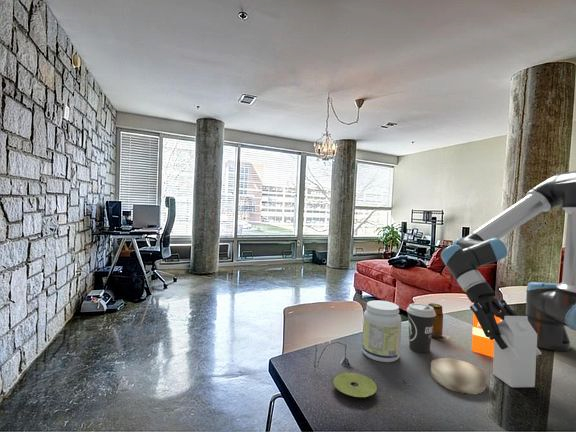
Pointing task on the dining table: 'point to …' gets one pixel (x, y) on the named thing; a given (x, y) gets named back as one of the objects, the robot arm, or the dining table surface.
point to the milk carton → (523, 344)
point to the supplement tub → (382, 331)
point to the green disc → (355, 384)
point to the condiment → (438, 323)
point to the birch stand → (458, 375)
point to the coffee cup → (420, 326)
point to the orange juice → (482, 339)
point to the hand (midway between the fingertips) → (526, 357)
